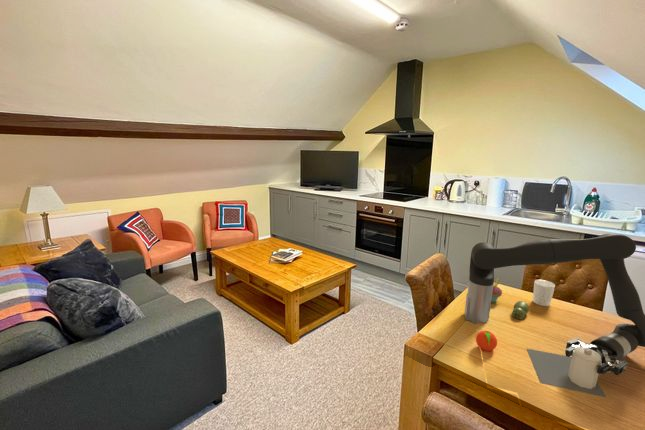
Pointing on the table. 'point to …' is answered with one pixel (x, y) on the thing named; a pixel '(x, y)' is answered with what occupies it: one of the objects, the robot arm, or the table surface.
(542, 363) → the mat
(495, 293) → the cupcake
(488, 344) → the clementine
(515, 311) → the pear
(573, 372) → the white lidded jar
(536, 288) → the white cup
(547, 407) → the table surface
